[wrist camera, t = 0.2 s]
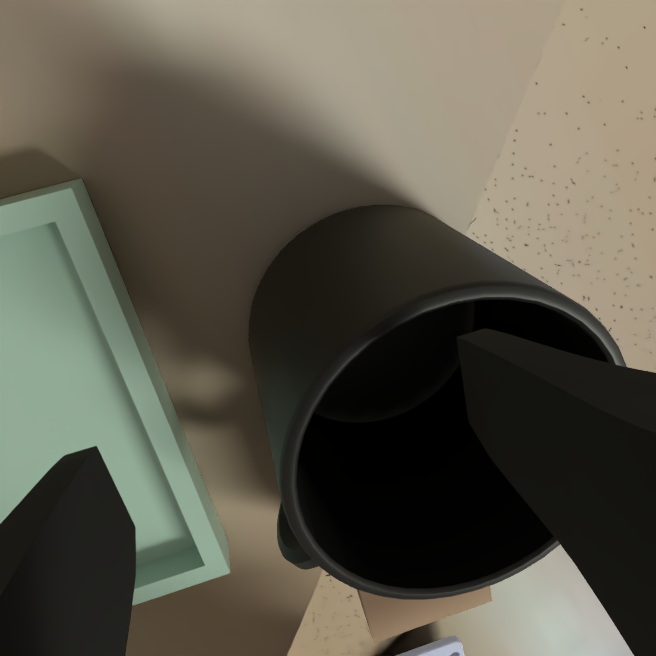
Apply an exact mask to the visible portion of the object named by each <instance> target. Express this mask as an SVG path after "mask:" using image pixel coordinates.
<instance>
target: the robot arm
mask: <svg viewBox="0 0 656 656" xmlns="http://www.w3.org/2000/svg"><path fill="white" fill-rule="evenodd" d="M457 344H458V351H459V359H460V366H461V373H462V380H463V387H464V394H465V401H466V408H467V415H468V422H469V423H470V425H471V427H472V428H473V430H474V432H475V433H476V435H477V437H478V439H479V440H480V442H481V444H482V445H483V447H484V448H485V450H486V452H487V453H488V455H489V456H490V458H491V460H492V461H493V462H494V463H495V465H496V466H497V467H498V468H499V470H500V471H501V472H502V473H503V475H504V476H505V477H506V478H507V480H508V481H509V482H510V483H511V485H512V486H513V487H514V488H515V490H516V491H517V492H518V493H519V494H520V496H521V497H522V498H523V499H524V500H525V502H526V503H527V504H528V505H529V506H530V508H531V509H532V510H533V511H534V513H535V514H536V515H537V516H538V517H539V519H540V520H541V521H542V522H543V524H544V525H545V526H546V527H547V528H548V530H549V531H550V532H551V533H552V534H553V536H554V537H555V538H556V539H557V541H558V542H559V543H560V544H561V546H562V547H563V548H564V550H565V551H566V552H567V554H568V555H569V556H570V558H571V559H572V560H573V562H574V563H575V564H576V566H577V567H578V569H579V571H580V572H581V574H582V575H583V577H584V578H585V580H586V581H587V583H588V584H589V586H590V587H591V589H592V590H593V592H594V593H595V595H596V596H597V598H598V599H599V601H600V602H601V604H602V605H603V607H604V608H605V610H606V612H607V613H608V615H609V616H610V618H611V619H612V621H613V623H614V624H615V626H616V627H617V629H618V631H619V632H620V634H621V635H622V637H623V638H624V640H625V642H626V643H627V645H628V646H629V648H630V650H631V651H632V653H633V654H634V656H656V373H653V372H647V371H642V370H637V369H632V368H628V367H623V366H619V365H615V364H611V363H607V362H603V361H599V360H594V359H591V358H587V357H583V356H580V355H576V354H573V353H569V352H566V351H562V350H559V349H555V348H552V347H549V346H546V345H542V344H539V343H536V342H533V341H529V340H526V339H523V338H520V337H516V336H513V335H510V334H506V333H503V332H499V331H495V330H491V329H486V328H485V329H481V330H478V331H475V332H471V333H468V334H465V335H461V336H458V337H457ZM135 578H136V527H135V525H134V523H133V521H132V519H131V516H130V514H129V512H128V510H127V508H126V506H125V504H124V502H123V500H122V498H121V496H120V493H119V491H118V489H117V487H116V485H115V483H114V481H113V479H112V477H111V475H110V472H109V470H108V468H107V466H106V464H105V462H104V460H103V458H102V456H101V454H100V452H99V449H98V447H97V446H94V447H90V448H87V449H84V450H80V451H77V452H74V453H70V454H67V455H64V456H63V457H62V458H61V459H60V460H59V461H58V462H56V463H55V464H54V465H53V466H52V468H51V469H50V470H49V471H48V472H47V473H46V474H45V475H44V476H43V477H42V478H41V479H40V480H39V482H38V483H37V484H36V485H35V486H34V487H33V488H32V489H31V490H30V492H29V493H28V494H27V495H26V496H25V497H24V498H23V499H22V500H21V502H20V503H19V504H18V505H17V506H16V507H15V508H14V509H13V510H12V511H11V513H10V514H9V515H8V516H7V517H6V518H5V519H4V520H3V521H2V523H1V524H0V656H125V652H126V645H127V638H128V631H129V624H130V617H131V610H132V602H133V594H134V587H135ZM396 656H464V651H463V646H462V643H461V641H460V639H459V637H457V636H449V637H446V638H443V639H440V640H437V641H435V642H432V643H429V644H426V645H423V646H421V647H418V648H415V649H412V650H409V651H407V652H404V653H401V654H398V655H396Z"/></svg>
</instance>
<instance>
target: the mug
mask: <svg viewBox="0 0 656 656" xmlns="http://www.w3.org/2000/svg"><path fill="white" fill-rule="evenodd" d="M485 328H486V329H491V330H495V331H499V332H503V333H506V334H510V335H513V336H516V337H520V338H523V339H526V340H529V341H533V342H536V343H539V344H542V345H546V346H549V347H552V348H555V349H559V350H562V351H566V352H569V353H573V354H576V355H580V356H583V357H587V358H591V359H594V360H599V361H603V362H607V363H611V364H615V365H619V366H623V367H626V364H625V362H624V359H623V357H622V354H621V352H620V350H619V347H618V345H617V344H616V342H615V341H614V339H613V338H612V337H611V335H610V334H609V332H608V331H607V329H606V328H605V327H604V326H603V325H602V323H601V322H600V321H599V320H598V319H597V318H595V317H594V316H593V315H592V314H591V313H590V312H589V311H588V310H587V309H586V308H585V307H583V306H581V305H580V304H578V303H577V302H575V301H573V300H572V299H570V298H568V297H567V296H565V295H563V294H562V293H560V292H558V291H557V290H555V289H553V288H552V287H550V286H548V285H547V284H545V283H543V282H542V281H540V280H538V279H537V278H535V277H533V276H532V275H530V274H528V273H527V272H525V271H523V270H522V269H520V268H518V267H517V266H515V265H513V264H512V263H510V262H508V261H507V260H505V259H503V258H502V257H500V256H498V255H497V254H495V253H493V252H492V251H490V250H488V249H487V248H485V247H483V246H482V245H480V244H478V243H477V242H475V241H473V240H471V239H470V238H468V237H466V236H465V235H463V234H461V233H460V232H458V231H456V230H455V229H453V228H451V227H450V226H448V225H446V224H445V223H443V222H441V221H440V220H438V219H436V218H434V217H432V216H430V215H428V214H426V213H423V212H420V211H418V210H415V209H410V208H406V207H401V206H392V205H372V206H364V207H358V208H353V209H349V210H346V211H343V212H339V213H336V214H334V215H331V216H329V217H327V218H325V219H323V220H321V221H319V222H317V223H315V224H314V225H312V226H311V227H309V228H308V229H306V230H305V231H303V232H302V233H300V234H299V235H298V236H296V237H295V238H294V239H293V240H292V241H291V242H290V243H289V244H288V245H287V246H286V247H285V248H284V249H283V250H282V251H281V252H280V253H279V255H278V256H277V257H276V258H275V260H274V261H273V262H272V263H271V265H270V266H269V268H268V270H267V271H266V273H265V275H264V277H263V278H262V280H261V282H260V284H259V287H258V289H257V292H256V295H255V297H254V300H253V303H252V308H251V313H250V319H249V346H250V353H251V358H252V363H253V367H254V372H255V377H256V382H257V386H258V391H259V396H260V401H261V406H262V410H263V415H264V420H265V425H266V430H267V434H268V439H269V444H270V449H271V453H272V458H273V463H274V468H275V473H276V477H277V482H278V487H279V492H280V496H281V504H280V509H279V514H278V521H277V538H278V544H279V547H280V550H281V553H282V555H283V556H284V558H285V559H286V560H288V561H289V562H291V563H292V564H294V565H295V566H297V567H299V568H301V569H311V568H315V567H317V566H320V567H321V568H322V569H323V570H325V571H326V572H328V573H329V574H330V575H332V576H333V577H334V578H336V579H338V580H339V581H341V582H343V583H345V584H347V585H349V586H351V587H353V588H355V589H357V590H360V591H364V592H367V593H370V594H374V595H378V596H382V597H388V598H396V599H403V600H425V599H436V598H444V597H452V596H456V595H460V594H464V593H468V592H472V591H475V590H479V589H482V588H484V587H487V586H490V585H493V584H495V583H498V582H500V581H502V580H504V579H507V578H509V577H511V576H513V575H515V574H517V573H519V572H520V571H522V570H524V569H526V568H527V567H529V566H531V565H532V564H534V563H535V562H537V561H538V560H540V559H542V558H543V557H545V556H546V555H547V554H548V553H550V552H551V551H552V550H553V549H555V548H556V547H557V546H559V545H560V543H559V542H558V541H557V539H556V538H555V537H554V536H553V534H552V533H551V532H550V531H549V530H548V528H547V527H546V526H545V525H544V524H543V522H542V521H541V520H540V519H539V517H538V516H537V515H536V514H535V513H534V511H533V510H532V509H531V508H530V506H529V505H528V504H527V503H526V502H525V500H524V499H523V498H522V497H521V496H520V494H519V493H518V492H517V491H516V490H515V488H514V487H513V486H512V485H511V483H510V482H509V481H508V480H507V478H506V477H505V476H504V475H503V473H502V472H501V471H500V470H499V468H498V467H497V466H496V465H495V463H494V462H493V461H492V460H491V458H490V456H489V455H488V453H487V452H486V450H485V448H484V447H483V445H482V444H481V442H480V440H479V439H478V437H477V435H476V433H475V432H474V430H473V428H472V427H471V425H470V423H469V422H468V415H467V408H466V401H465V394H464V387H463V380H462V373H461V366H460V359H459V351H458V344H457V337H458V336H461V335H465V334H468V333H471V332H475V331H478V330H481V329H485Z"/></svg>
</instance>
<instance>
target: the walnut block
mask: <svg viewBox="0 0 656 656" xmlns="http://www.w3.org/2000/svg"><path fill="white" fill-rule="evenodd" d="M357 592H358V595H359V598H360V601H361V604H362V607H363V610H364V614H365V617H366V620H367V623H368V626H369V629H370V632H371V635H372V639H373V642H374V643H375V642H378V641H381V640H384V639H386V638H389V637H392V636H395V635H398V634H400V633H403V632H406V631H409V630H412V629H414V628H417V627H420V626H423V625H426V624H429V623H431V622H434V621H437V620H440V619H443V618H445V617H448V616H451V615H454V614H457V613H459V612H462V611H465V610H468V609H471V608H474V607H476V606H479V605H482V604H485V603H488V602H490V601H492V597H491V590H490V586H487V587H484V588H482V589H479V590H475V591H472V592H468V593H464V594H460V595H456V596H452V597H444V598H436V599H425V600H403V599H396V598H388V597H382V596H378V595H374V594H370V593H367V592H364V591H360V590H357Z"/></svg>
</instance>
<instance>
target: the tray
mask: <svg viewBox="0 0 656 656" xmlns="http://www.w3.org/2000/svg"><path fill="white" fill-rule="evenodd" d="M94 446H97V447H98V449H99V452H100V454H101V456H102V458H103V460H104V462H105V464H106V466H107V468H108V470H109V472H110V475H111V477H112V479H113V481H114V483H115V485H116V487H117V489H118V491H119V493H120V496H121V498H122V500H123V502H124V504H125V506H126V508H127V510H128V512H129V514H130V516H131V519H132V521H133V523H134V525H135V527H136V578H135V587H134V594H133V602H132V606H134V605H137V604H140V603H143V602H146V601H149V600H152V599H155V598H158V597H161V596H164V595H167V594H170V593H173V592H176V591H179V590H182V589H184V588H187V587H190V586H193V585H196V584H199V583H202V582H205V581H208V580H211V579H214V578H217V577H220V576H223V575H226V574H229V573H230V562H229V549H228V540H227V538H226V535H225V533H224V531H223V528H222V526H221V523H220V521H219V518H218V516H217V513H216V511H215V508H214V506H213V503H212V501H211V498H210V496H209V493H208V491H207V488H206V486H205V483H204V481H203V478H202V476H201V473H200V471H199V468H198V466H197V463H196V461H195V458H194V456H193V453H192V451H191V448H190V446H189V443H188V441H187V438H186V436H185V433H184V431H183V428H182V426H181V424H180V421H179V419H178V416H177V414H176V411H175V409H174V406H173V404H172V401H171V399H170V396H169V394H168V391H167V389H166V386H165V384H164V381H163V379H162V376H161V374H160V371H159V369H158V366H157V364H156V361H155V359H154V356H153V354H152V351H151V349H150V346H149V344H148V341H147V339H146V336H145V334H144V331H143V329H142V326H141V324H140V322H139V319H138V317H137V314H136V312H135V309H134V307H133V304H132V302H131V299H130V297H129V294H128V292H127V289H126V287H125V284H124V282H123V279H122V277H121V274H120V272H119V269H118V267H117V264H116V262H115V259H114V257H113V254H112V252H111V249H110V247H109V244H108V242H107V239H106V237H105V234H104V232H103V229H102V227H101V224H100V222H99V220H98V217H97V215H96V212H95V210H94V207H93V205H92V202H91V200H90V197H89V195H88V192H87V190H86V187H85V185H84V182H83V180H82V178H80V179H76V180H72V181H68V182H64V183H60V184H57V185H53V186H49V187H45V188H41V189H37V190H34V191H30V192H26V193H22V194H18V195H14V196H10V197H7V198H3V199H0V524H1V523H2V521H3V520H4V519H5V518H6V517H7V516H8V515H9V514H10V513H11V511H12V510H13V509H14V508H15V507H16V506H17V505H18V504H19V503H20V502H21V500H22V499H23V498H24V497H25V496H26V495H27V494H28V493H29V492H30V490H31V489H32V488H33V487H34V486H35V485H36V484H37V483H38V482H39V480H40V479H41V478H42V477H43V476H44V475H45V474H46V473H47V472H48V471H49V470H50V469H51V468H52V466H53V465H54V464H55V463H56V462H58V461H59V460H60V459H61V458H62V457H63V456H64V455H67V454H70V453H74V452H77V451H80V450H84V449H87V448H90V447H94Z"/></svg>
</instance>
